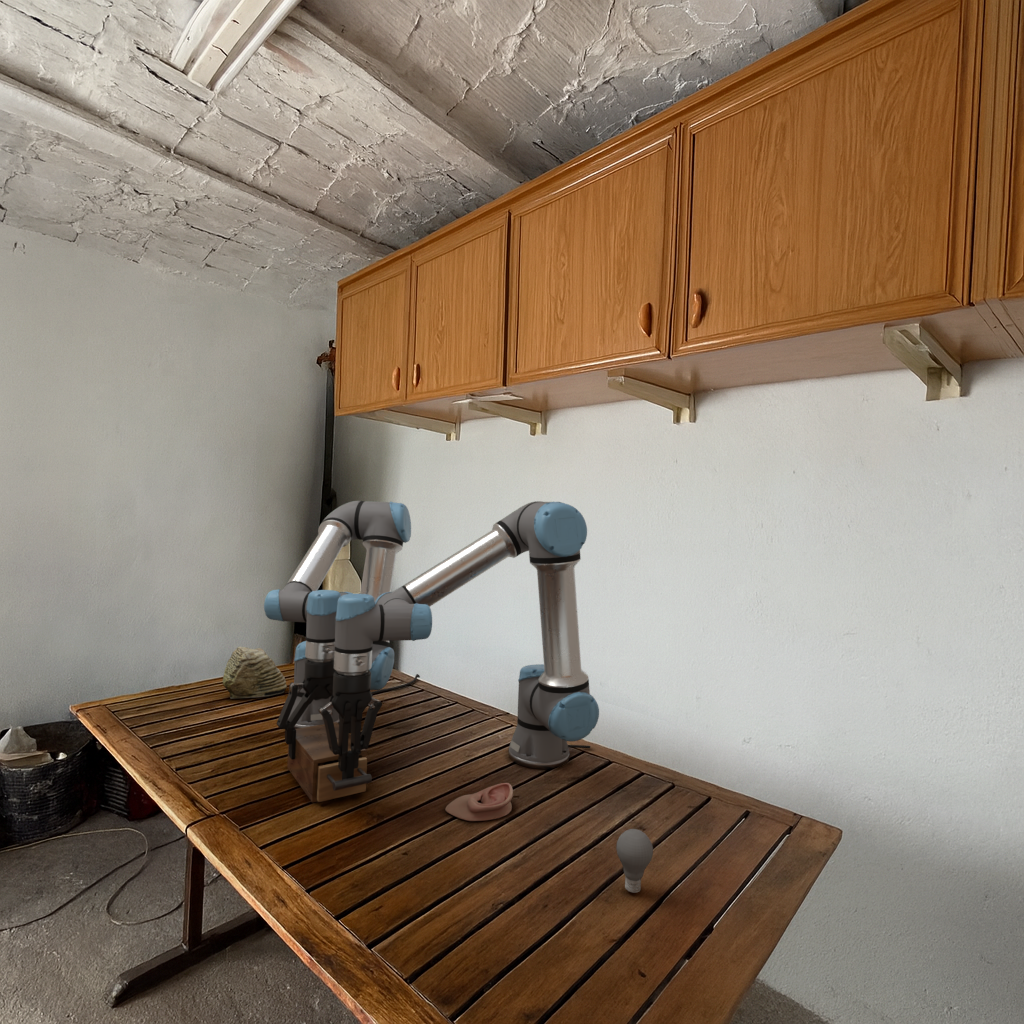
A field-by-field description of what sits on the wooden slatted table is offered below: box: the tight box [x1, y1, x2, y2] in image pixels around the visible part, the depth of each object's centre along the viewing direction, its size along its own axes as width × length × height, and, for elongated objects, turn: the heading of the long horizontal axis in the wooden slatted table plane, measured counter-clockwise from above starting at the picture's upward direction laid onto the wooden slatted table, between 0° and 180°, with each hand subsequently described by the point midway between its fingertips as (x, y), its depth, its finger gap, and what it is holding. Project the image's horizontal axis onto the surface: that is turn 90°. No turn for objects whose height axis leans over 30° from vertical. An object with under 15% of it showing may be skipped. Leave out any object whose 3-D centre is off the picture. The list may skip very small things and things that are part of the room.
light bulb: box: [615, 828, 654, 894], centre depth 106 cm, size 6×6×10 cm
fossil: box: [222, 646, 288, 699], centre depth 198 cm, size 9×18×15 cm, turn 132°
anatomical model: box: [444, 782, 514, 822], centre depth 131 cm, size 13×4×12 cm
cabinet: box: [287, 722, 367, 803], centre depth 142 cm, size 19×11×9 cm, turn 34°
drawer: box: [317, 756, 373, 803], centre depth 137 cm, size 24×10×7 cm, turn 34°
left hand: (318, 752), depth 146 cm, fingers closed on cabinet, 11 cm apart
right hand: (347, 784), depth 130 cm, fingers closed
